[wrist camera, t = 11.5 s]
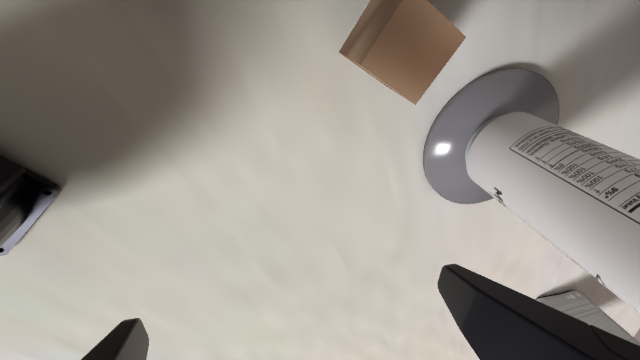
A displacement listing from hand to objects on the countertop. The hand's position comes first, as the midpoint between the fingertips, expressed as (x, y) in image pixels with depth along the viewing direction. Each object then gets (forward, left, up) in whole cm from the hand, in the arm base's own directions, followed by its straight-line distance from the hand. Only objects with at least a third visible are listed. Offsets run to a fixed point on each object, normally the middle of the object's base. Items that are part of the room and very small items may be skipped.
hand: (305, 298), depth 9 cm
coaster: (+11, -13, -13) cm, 21 cm away
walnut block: (+9, -1, -13) cm, 16 cm away
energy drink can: (+11, -13, -13) cm, 21 cm away
